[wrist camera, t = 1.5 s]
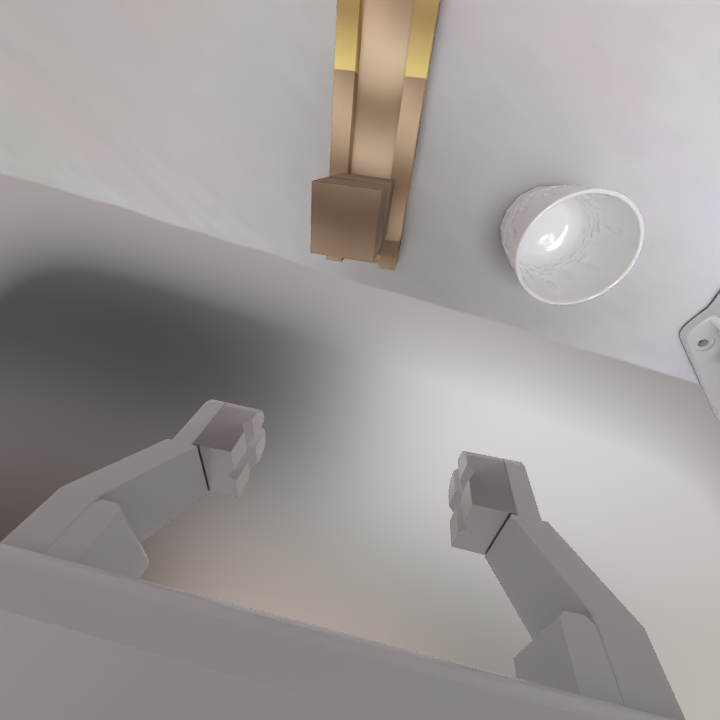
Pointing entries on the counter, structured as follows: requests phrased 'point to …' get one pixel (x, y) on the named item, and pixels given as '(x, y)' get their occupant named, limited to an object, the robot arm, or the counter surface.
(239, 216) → the counter surface
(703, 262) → the counter surface
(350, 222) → the plate
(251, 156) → the counter surface
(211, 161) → the counter surface
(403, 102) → the beam
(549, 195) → the white cup
